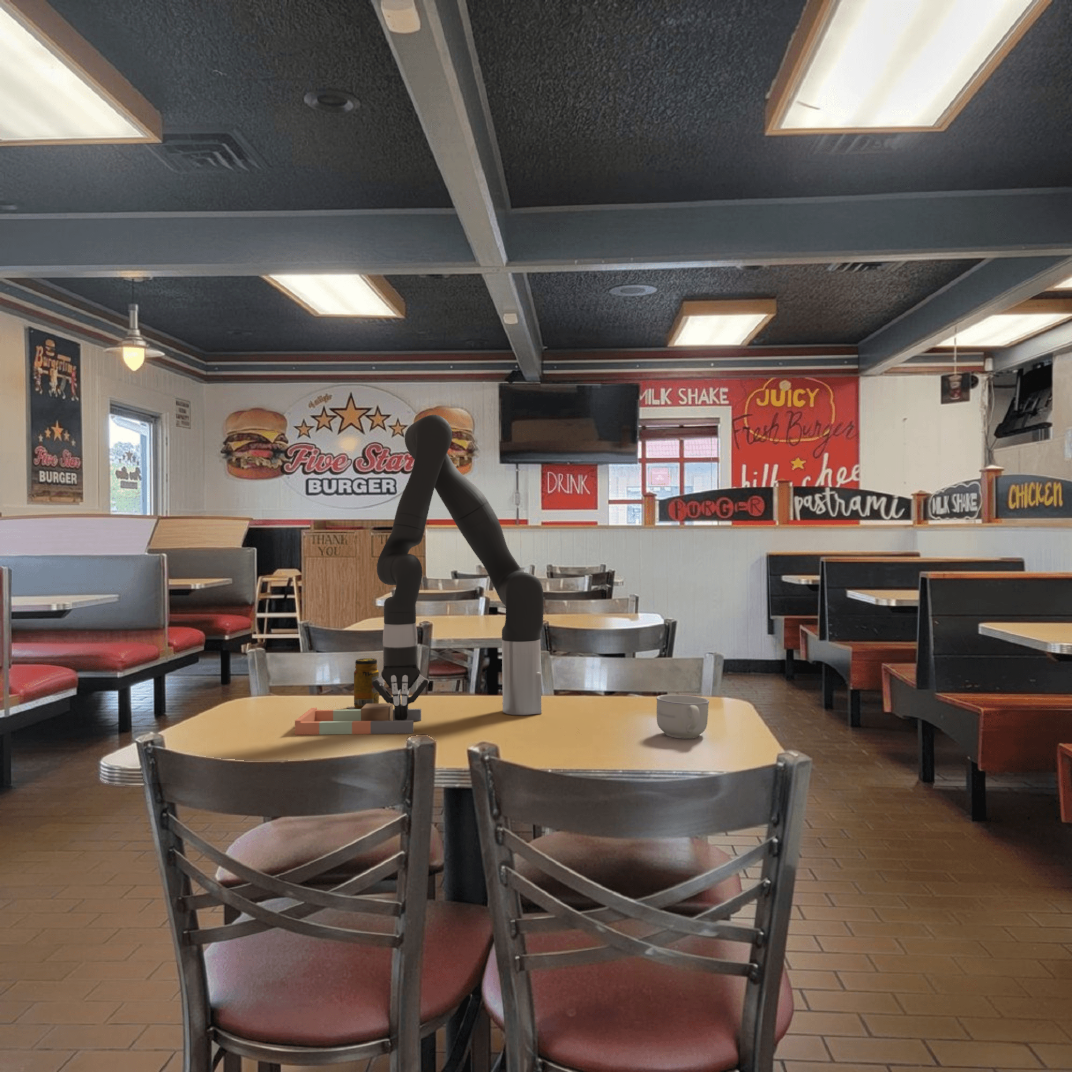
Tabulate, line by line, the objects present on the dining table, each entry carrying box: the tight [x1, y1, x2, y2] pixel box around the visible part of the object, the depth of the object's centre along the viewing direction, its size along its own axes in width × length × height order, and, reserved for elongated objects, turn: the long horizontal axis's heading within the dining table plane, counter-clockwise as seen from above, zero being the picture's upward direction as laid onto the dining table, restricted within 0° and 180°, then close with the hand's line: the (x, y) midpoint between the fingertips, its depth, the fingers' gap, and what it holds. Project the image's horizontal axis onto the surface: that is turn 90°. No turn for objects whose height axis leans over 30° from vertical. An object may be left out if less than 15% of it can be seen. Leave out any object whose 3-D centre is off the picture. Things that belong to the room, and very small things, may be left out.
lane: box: [294, 707, 422, 736], centre depth 189 cm, size 25×13×3 cm, turn 90°
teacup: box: [655, 694, 710, 740], centre depth 176 cm, size 14×11×8 cm
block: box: [361, 702, 394, 721], centre depth 190 cm, size 6×6×4 cm
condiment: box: [346, 657, 380, 710], centre depth 209 cm, size 7×8×12 cm
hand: (401, 721), depth 189 cm, fingers closed
